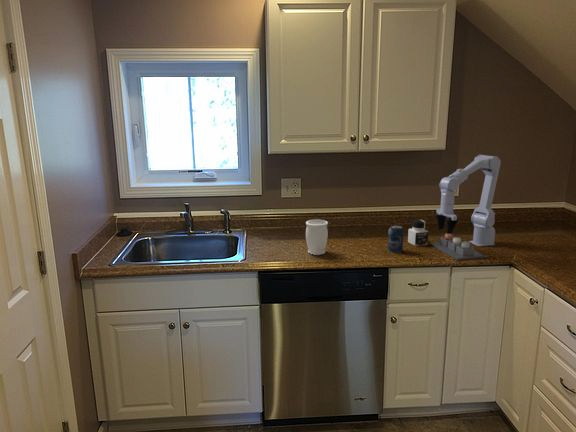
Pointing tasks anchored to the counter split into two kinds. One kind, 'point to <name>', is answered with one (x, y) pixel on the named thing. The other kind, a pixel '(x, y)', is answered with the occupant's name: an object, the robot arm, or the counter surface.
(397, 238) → the soda can
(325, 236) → the jar
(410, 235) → the medicine bottle
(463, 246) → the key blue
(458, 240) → the key ivory
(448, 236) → the key red
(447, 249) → the keypad base
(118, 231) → the counter surface
